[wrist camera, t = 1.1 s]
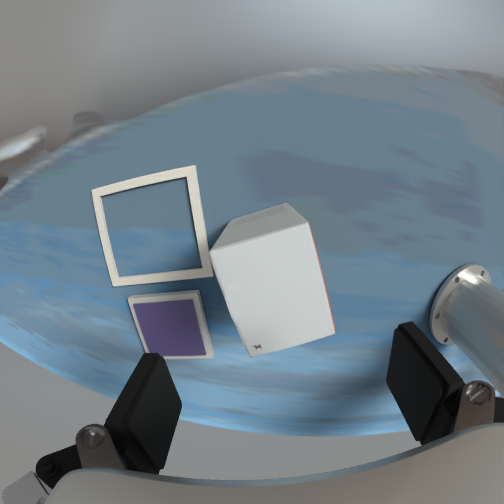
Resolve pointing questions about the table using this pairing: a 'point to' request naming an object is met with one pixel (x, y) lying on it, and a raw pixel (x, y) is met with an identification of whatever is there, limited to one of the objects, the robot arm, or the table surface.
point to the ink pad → (172, 324)
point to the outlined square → (198, 222)
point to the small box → (272, 280)
